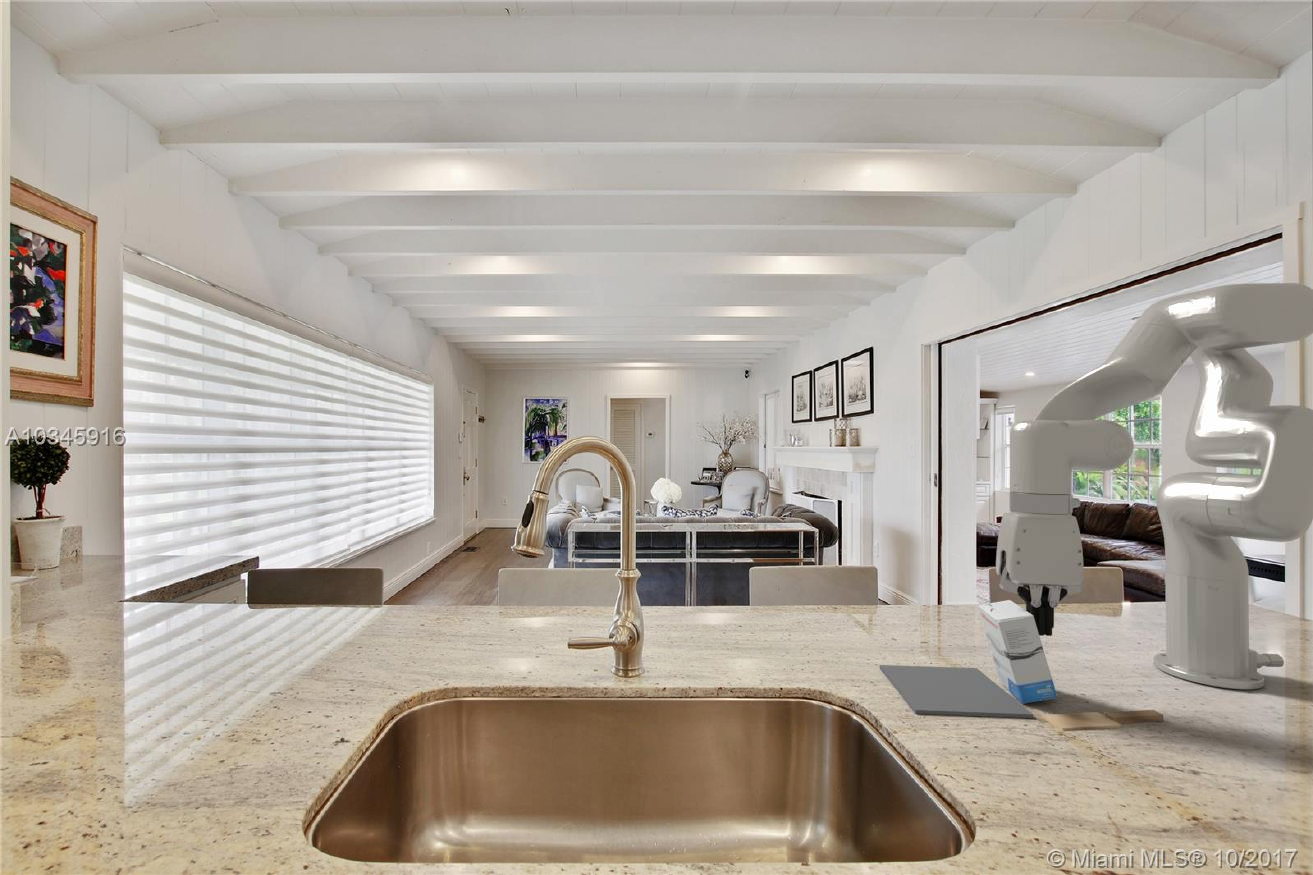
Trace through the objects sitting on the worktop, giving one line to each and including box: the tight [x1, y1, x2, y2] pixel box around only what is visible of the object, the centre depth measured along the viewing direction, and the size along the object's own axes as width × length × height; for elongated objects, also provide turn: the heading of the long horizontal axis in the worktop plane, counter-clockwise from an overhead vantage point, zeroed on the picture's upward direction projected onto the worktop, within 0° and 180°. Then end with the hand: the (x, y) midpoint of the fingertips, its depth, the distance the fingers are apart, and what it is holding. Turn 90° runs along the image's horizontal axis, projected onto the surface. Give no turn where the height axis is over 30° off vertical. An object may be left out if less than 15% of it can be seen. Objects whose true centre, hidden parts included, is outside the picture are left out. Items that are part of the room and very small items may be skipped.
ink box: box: [978, 599, 1058, 704], centre depth 85 cm, size 8×5×12 cm, turn 168°
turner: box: [1041, 709, 1164, 731], centre depth 76 cm, size 15×4×1 cm, turn 95°
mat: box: [879, 664, 1034, 719], centre depth 85 cm, size 15×16×1 cm
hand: (1039, 632), depth 84 cm, fingers closed
